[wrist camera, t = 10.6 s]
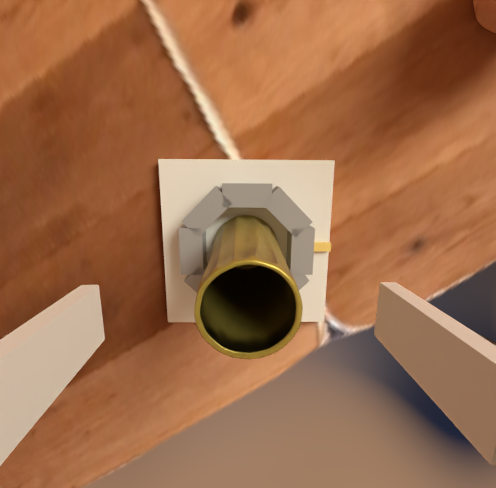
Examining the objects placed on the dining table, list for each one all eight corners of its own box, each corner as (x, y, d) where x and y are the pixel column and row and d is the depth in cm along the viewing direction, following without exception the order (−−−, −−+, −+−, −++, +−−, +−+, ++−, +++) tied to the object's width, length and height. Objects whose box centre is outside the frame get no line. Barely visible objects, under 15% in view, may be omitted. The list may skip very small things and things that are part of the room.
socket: (170, 317, 30) (160, 335, 27) (161, 159, 27) (149, 156, 23) (321, 317, 30) (331, 334, 27) (331, 161, 27) (344, 158, 23)
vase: (200, 246, 27) (157, 312, 13) (245, 201, 27) (249, 221, 13) (245, 288, 28) (248, 391, 14) (290, 246, 28) (339, 311, 14)
